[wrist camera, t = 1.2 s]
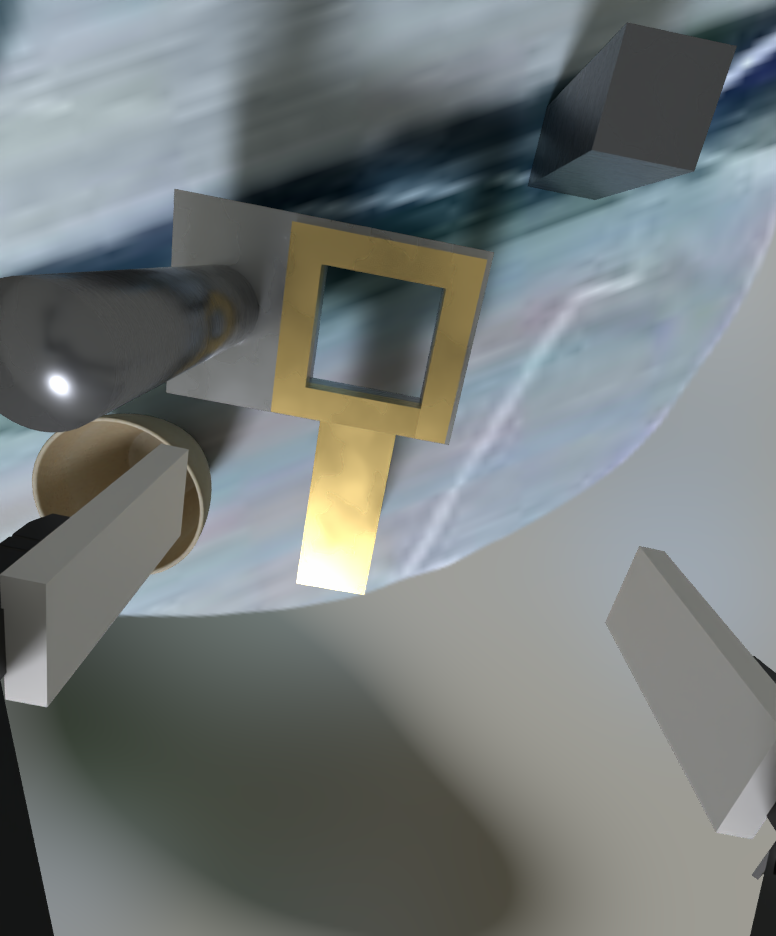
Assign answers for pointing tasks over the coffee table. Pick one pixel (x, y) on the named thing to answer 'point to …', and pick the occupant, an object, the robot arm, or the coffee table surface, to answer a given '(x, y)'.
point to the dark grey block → (631, 114)
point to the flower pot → (118, 470)
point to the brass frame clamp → (247, 349)
